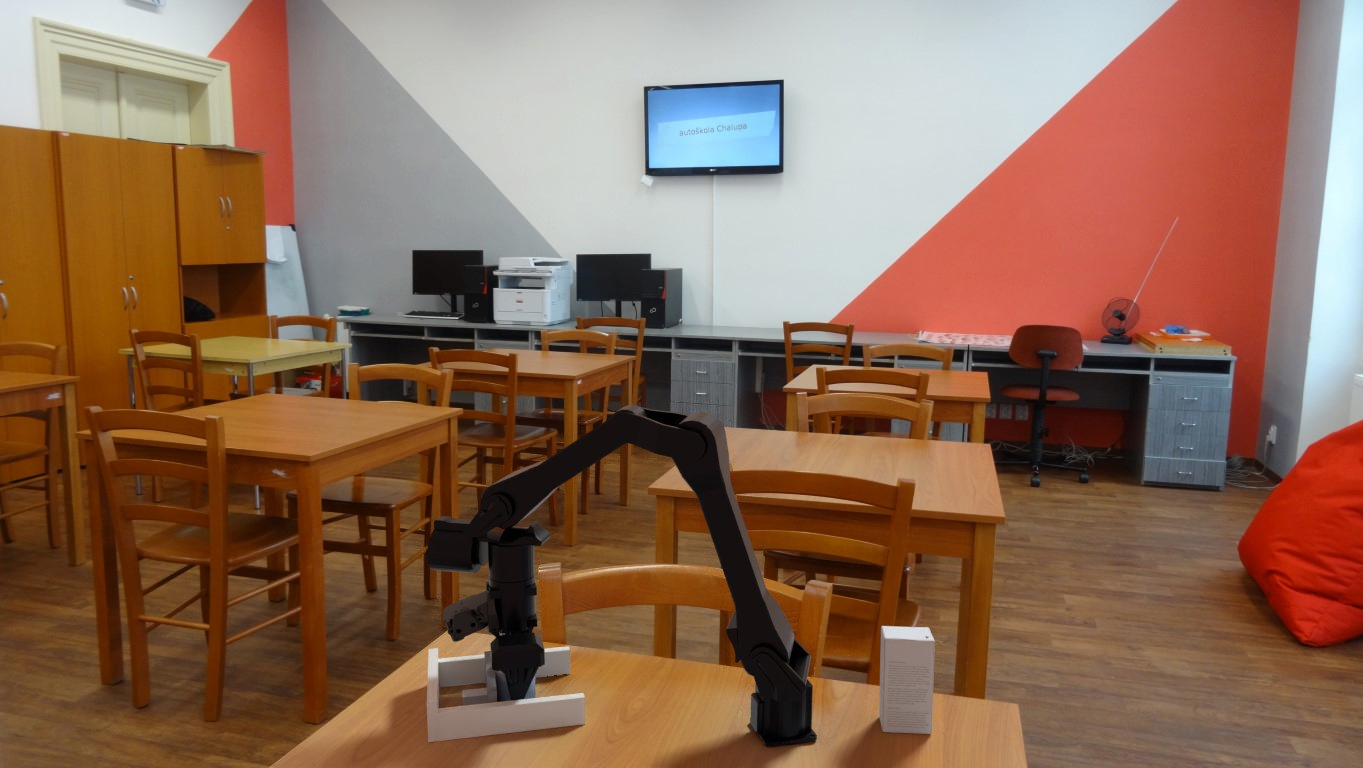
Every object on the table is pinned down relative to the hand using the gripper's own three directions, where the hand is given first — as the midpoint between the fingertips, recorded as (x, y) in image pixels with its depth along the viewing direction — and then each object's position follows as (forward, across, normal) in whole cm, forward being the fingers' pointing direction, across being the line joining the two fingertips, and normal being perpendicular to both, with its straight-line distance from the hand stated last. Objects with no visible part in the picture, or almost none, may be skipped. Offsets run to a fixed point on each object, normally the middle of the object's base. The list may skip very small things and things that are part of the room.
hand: (514, 692), depth 122 cm
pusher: (+1, 0, -4) cm, 5 cm away
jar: (+1, 0, 0) cm, 1 cm away
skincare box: (+2, +17, +46) cm, 49 cm away
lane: (+1, 0, -1) cm, 2 cm away
